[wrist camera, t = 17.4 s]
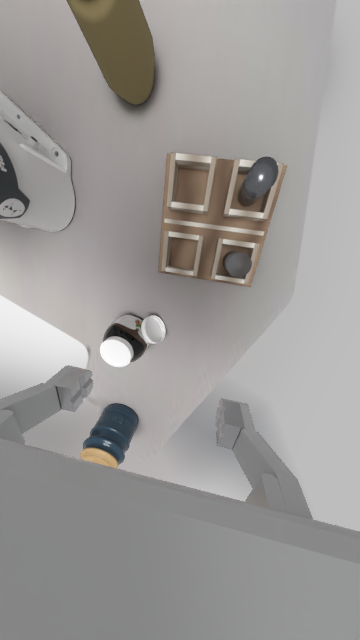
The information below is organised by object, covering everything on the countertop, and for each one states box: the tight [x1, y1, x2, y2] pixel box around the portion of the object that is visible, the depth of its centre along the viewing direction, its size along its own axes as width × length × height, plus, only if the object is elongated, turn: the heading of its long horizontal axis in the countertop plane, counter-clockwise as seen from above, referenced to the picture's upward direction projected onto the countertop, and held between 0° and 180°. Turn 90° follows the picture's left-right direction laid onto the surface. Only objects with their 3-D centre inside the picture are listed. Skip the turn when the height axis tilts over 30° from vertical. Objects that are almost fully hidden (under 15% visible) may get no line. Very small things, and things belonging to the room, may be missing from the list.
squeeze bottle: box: [67, 0, 155, 105], centre depth 19 cm, size 8×8×18 cm
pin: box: [237, 157, 278, 207], centre depth 26 cm, size 4×4×9 cm
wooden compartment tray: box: [158, 153, 287, 287], centre depth 29 cm, size 20×20×10 cm
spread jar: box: [100, 315, 166, 367], centre depth 40 cm, size 12×11×12 cm
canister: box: [80, 404, 138, 468], centre depth 53 cm, size 13×13×18 cm
